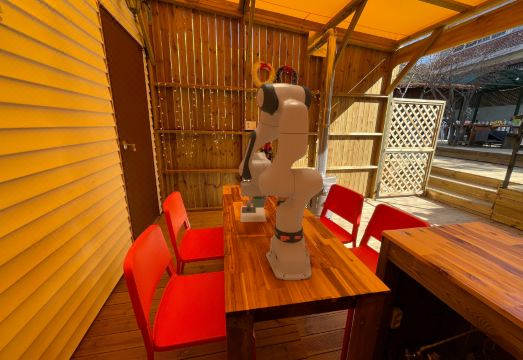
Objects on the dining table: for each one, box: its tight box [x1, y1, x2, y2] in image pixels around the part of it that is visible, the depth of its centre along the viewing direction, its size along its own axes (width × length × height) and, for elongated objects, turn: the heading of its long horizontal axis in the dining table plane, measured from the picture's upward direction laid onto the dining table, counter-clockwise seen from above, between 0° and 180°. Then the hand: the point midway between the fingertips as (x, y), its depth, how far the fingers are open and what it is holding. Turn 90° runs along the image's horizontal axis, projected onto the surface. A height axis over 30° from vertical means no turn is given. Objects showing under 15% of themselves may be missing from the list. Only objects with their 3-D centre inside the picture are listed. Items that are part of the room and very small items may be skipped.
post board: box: [240, 200, 267, 223], centre depth 133 cm, size 24×15×8 cm, turn 4°
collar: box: [252, 196, 265, 209], centre depth 124 cm, size 6×6×5 cm
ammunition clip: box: [276, 196, 290, 207], centre depth 145 cm, size 11×2×12 cm, turn 99°
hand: (258, 202), depth 125 cm, fingers closed on collar, 6 cm apart
